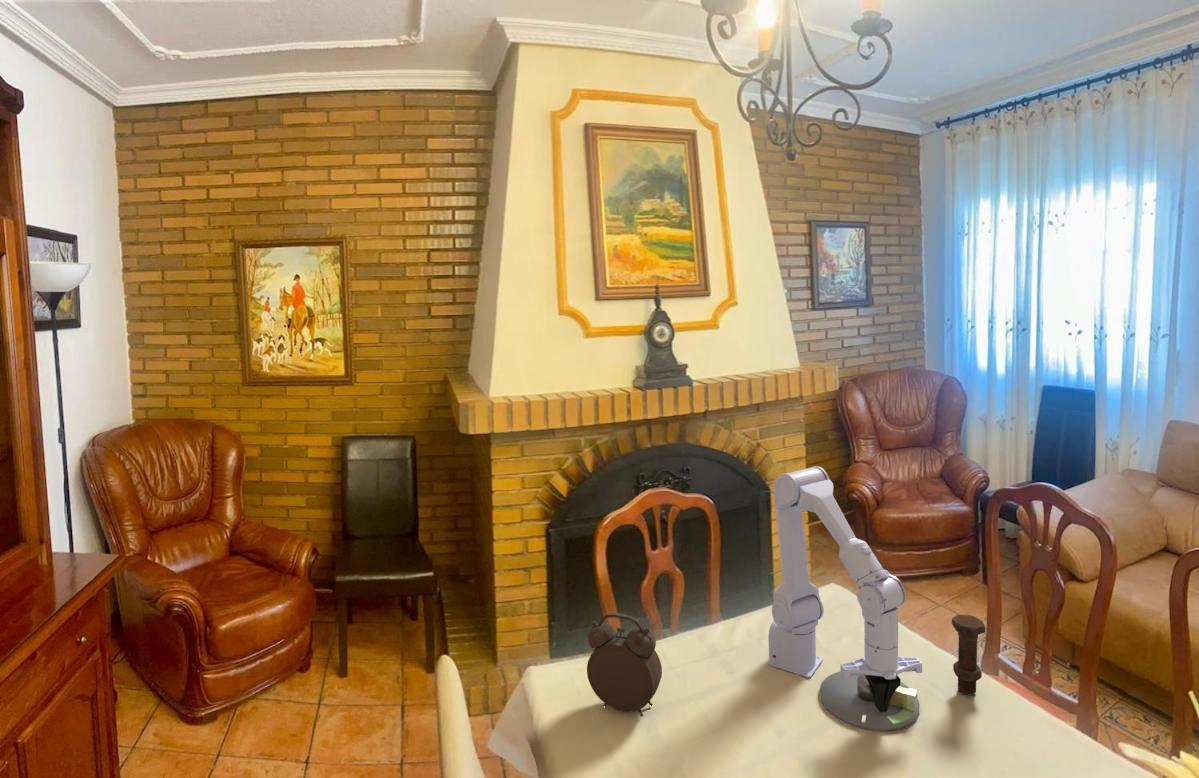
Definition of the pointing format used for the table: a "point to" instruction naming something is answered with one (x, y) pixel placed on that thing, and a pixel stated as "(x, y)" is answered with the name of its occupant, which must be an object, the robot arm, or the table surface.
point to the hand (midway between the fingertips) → (881, 708)
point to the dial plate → (862, 706)
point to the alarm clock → (623, 665)
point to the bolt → (967, 652)
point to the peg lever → (899, 698)
